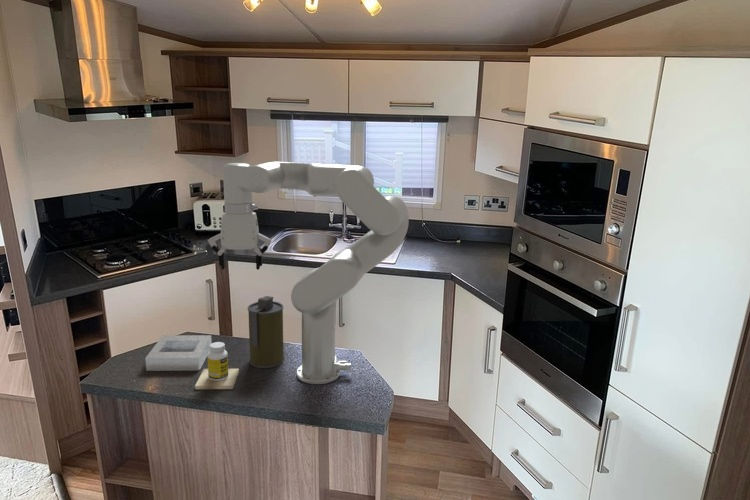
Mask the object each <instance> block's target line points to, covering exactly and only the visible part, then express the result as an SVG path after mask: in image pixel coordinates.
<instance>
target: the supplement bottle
mask: <svg viewBox="0 0 750 500" xmlns="http://www.w3.org/2000/svg"><path fill="white" fill-rule="evenodd" d="M207 369H208V377H209V379H210V380H213V381H221V380H224V379H226V378H227V377H228V369H229V355H228V351H227V350H226V344H225V342H222V341H216V342H212V344H210V351H209V353H208V355H207Z"/></svg>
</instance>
